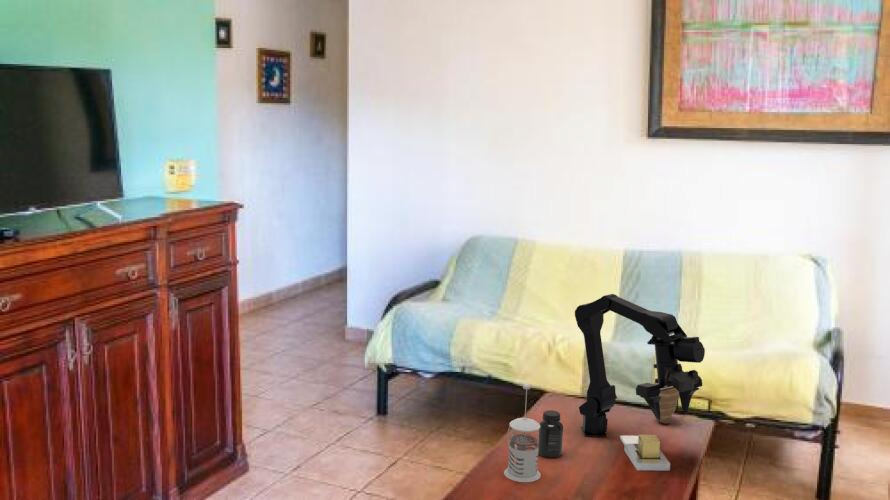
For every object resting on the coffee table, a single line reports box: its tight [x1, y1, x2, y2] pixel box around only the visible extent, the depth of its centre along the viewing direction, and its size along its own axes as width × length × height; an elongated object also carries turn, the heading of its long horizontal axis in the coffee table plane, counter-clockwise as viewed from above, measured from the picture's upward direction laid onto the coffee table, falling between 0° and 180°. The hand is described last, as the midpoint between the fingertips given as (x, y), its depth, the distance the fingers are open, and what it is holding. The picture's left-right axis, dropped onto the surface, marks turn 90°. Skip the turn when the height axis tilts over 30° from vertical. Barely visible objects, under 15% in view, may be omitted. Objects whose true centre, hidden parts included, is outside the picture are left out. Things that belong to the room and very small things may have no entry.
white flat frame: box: [623, 444, 671, 472], centre depth 231 cm, size 9×13×2 cm
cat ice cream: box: [653, 376, 680, 425], centre depth 256 cm, size 9×8×18 cm
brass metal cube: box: [637, 434, 661, 459], centre depth 229 cm, size 5×5×7 cm
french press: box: [503, 383, 541, 483], centre depth 219 cm, size 10×12×25 cm
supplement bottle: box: [537, 409, 564, 459], centre depth 232 cm, size 7×7×12 cm
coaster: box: [619, 435, 639, 446], centre depth 242 cm, size 8×8×1 cm
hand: (672, 416), depth 228 cm, fingers open, 9 cm apart
